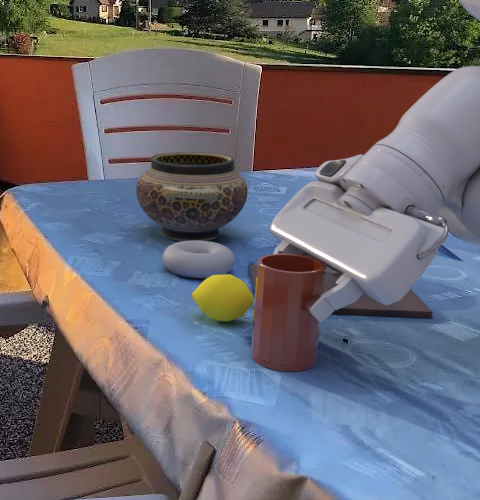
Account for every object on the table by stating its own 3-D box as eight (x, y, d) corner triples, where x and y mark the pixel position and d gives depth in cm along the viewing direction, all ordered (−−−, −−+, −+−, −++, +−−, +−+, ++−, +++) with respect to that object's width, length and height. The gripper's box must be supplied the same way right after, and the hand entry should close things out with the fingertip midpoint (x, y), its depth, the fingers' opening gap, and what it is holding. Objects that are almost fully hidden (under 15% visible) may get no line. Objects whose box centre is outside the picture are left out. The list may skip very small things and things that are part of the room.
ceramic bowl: (157, 230, 130) (138, 151, 127) (253, 211, 127) (236, 129, 123) (141, 271, 107) (117, 175, 103) (258, 249, 104) (238, 149, 100)
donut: (175, 257, 105) (151, 275, 96) (176, 235, 104) (152, 250, 95) (241, 266, 101) (223, 285, 92) (243, 242, 100) (225, 260, 91)
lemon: (253, 314, 83) (256, 270, 81) (251, 331, 78) (254, 285, 76) (194, 308, 84) (196, 265, 83) (187, 325, 79) (189, 279, 77)
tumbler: (309, 346, 74) (318, 254, 71) (321, 373, 68) (331, 274, 65) (248, 343, 75) (254, 252, 72) (254, 370, 68) (261, 271, 66)
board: (393, 275, 98) (393, 270, 98) (432, 318, 83) (433, 311, 83) (247, 270, 99) (248, 264, 99) (259, 311, 84) (260, 304, 84)
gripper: (477, 246, 61) (365, 360, 61) (346, 198, 80) (261, 285, 80) (441, 197, 59) (325, 316, 59) (315, 159, 78) (227, 249, 78)
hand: (287, 298), depth 70 cm, fingers open, 8 cm apart
